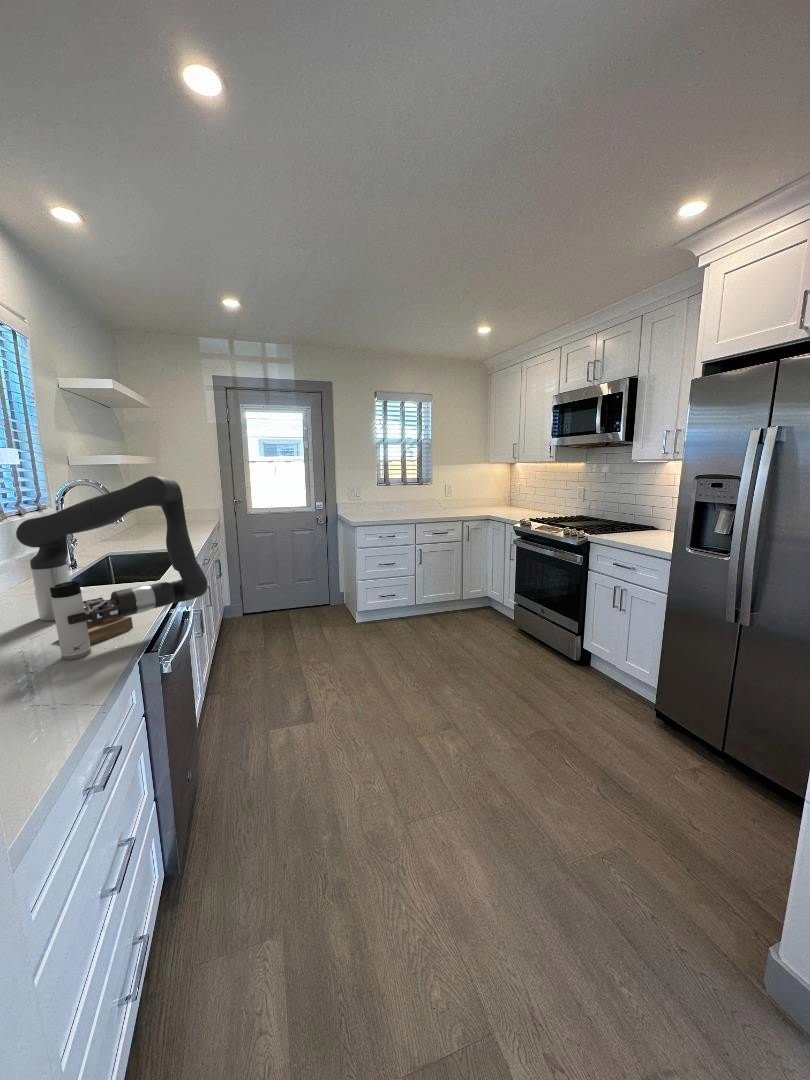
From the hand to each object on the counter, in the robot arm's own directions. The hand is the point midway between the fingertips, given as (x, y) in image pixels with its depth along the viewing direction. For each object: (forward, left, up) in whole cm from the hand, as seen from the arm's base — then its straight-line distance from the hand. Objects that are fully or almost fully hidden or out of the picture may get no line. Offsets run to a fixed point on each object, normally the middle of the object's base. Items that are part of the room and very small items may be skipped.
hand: (63, 616), depth 114 cm
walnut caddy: (-9, +13, -11) cm, 20 cm away
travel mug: (+1, +1, -11) cm, 11 cm away
